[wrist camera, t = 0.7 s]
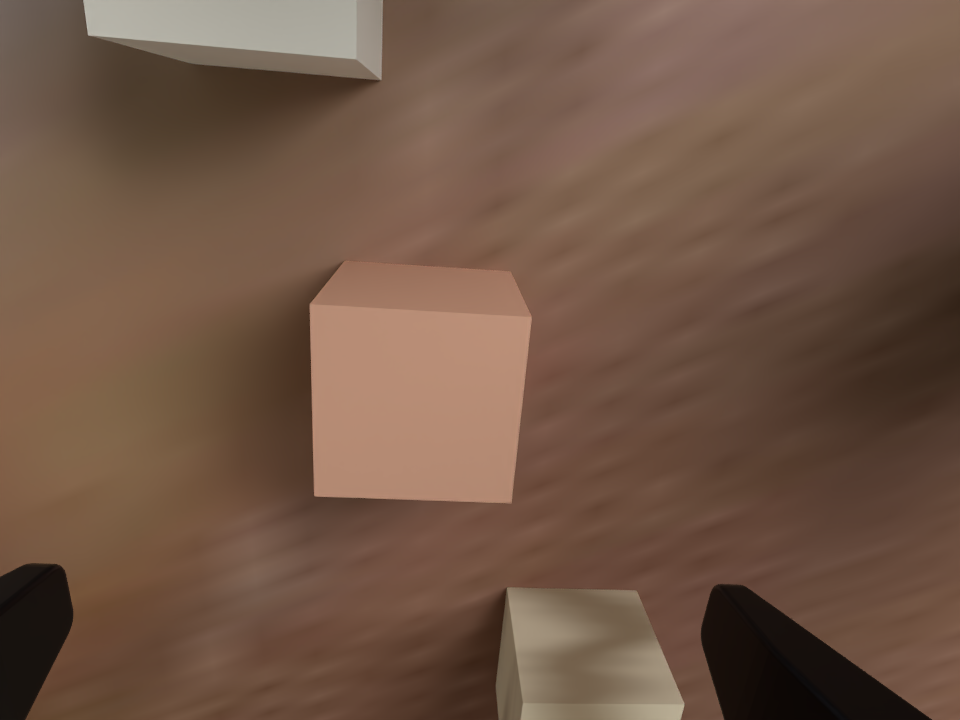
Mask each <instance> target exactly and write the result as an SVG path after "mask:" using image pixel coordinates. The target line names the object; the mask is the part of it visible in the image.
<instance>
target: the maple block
mask: <svg viewBox="0 0 960 720" xmlns="http://www.w3.org/2000/svg"><path fill="white" fill-rule="evenodd" d="M496 696H497V707H498V718H499V720H681V716H682V712H683V709H684V705H685V704H684V702H683V700H682V697H681V695H680V692H679V690H678V688H677V685H676V683H675V681H674V678H673V676H672V673H671V671H670V669H669V666H668V664H667V662H666V659H665V657H664V654H663V652H662V650H661V647H660V645H659V643H658V640H657V638H656V635H655V633H654V631H653V628H652V626H651V624H650V621H649V619H648V616H647V614H646V612H645V609H644V607H643V605H642V602H641V600H640V597H639V595H638V593H637V590H596V589H555V588H514V587H507V591H506V600H505V609H504V617H503V626H502V635H501V644H500V652H499V661H498V670H497V678H496Z"/></svg>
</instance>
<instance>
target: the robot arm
mask: <svg viewBox="0 0 960 720" xmlns="http://www.w3.org/2000/svg"><path fill="white" fill-rule="evenodd" d="M72 622H73V607H72V602H71V597H70V592H69V587H68V582H67V577H66V573H65V570H64V569H63V568H62V567H61V566H60V565H57V564H39V563H31V564H25V565H23V566H21V567H19V568H17V569H15V570H13V571H11V572H9V573H7V574H5V575H3V576H1V577H0V720H25V719H26V717H27V715H28V713H29V711H30V709H31V707H32V705H33V703H34V701H35V699H36V697H37V695H38V693H39V691H40V689H41V687H42V685H43V683H44V681H45V679H46V677H47V675H48V673H49V671H50V669H51V667H52V665H53V663H54V661H55V659H56V657H57V655H58V653H59V652H60V650H61V648H62V646H63V644H64V642H65V640H66V638H67V636H68V634H69V631H70V629H71V626H72ZM701 641H702V646H703V650H704V653H705V657H706V660H707V663H708V667H709V670H710V673H711V677H712V680H713V684H714V687H715V690H716V694H717V697H718V700H719V704H720V707H721V710H722V714H723V717H724V720H932V719H930V718H929V717H928V716H926V715H925V714H923V713H922V712H921V711H919V710H918V709H916V708H915V707H914V706H912V705H911V704H909V703H908V702H907V701H905V700H904V699H902V698H901V697H900V696H898V695H897V694H895V693H894V692H893V691H891V690H890V689H888V688H887V687H886V686H884V685H883V684H881V683H880V682H879V681H877V680H876V679H874V678H873V677H872V676H870V675H869V674H867V673H866V672H865V671H863V670H862V669H860V668H859V667H858V666H856V665H855V664H853V663H852V662H851V661H849V660H848V659H846V658H845V657H844V656H842V655H841V654H839V653H838V652H837V651H835V650H834V649H832V648H831V647H830V646H828V645H827V644H825V643H824V642H823V641H821V640H820V639H818V638H817V637H816V636H814V635H813V634H811V633H810V632H809V631H807V630H806V629H804V628H803V627H802V626H800V625H799V624H797V623H796V622H795V621H793V620H792V619H790V618H789V617H788V616H786V615H785V614H783V613H782V612H781V611H779V610H778V609H776V608H775V607H774V606H772V605H771V604H769V603H768V602H767V601H765V600H764V599H762V598H761V597H760V596H758V595H757V594H755V593H754V592H753V591H751V590H750V589H748V588H747V587H745V586H743V585H730V584H718V585H716V586H714V587H713V589H712V591H711V593H710V597H709V600H708V604H707V608H706V612H705V615H704V619H703V623H702V627H701Z"/></svg>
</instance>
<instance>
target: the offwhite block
mask: <svg viewBox="0 0 960 720" xmlns="http://www.w3.org/2000/svg"><path fill="white" fill-rule="evenodd" d="M83 1H84V9H85V16H86V24H87V31H88V35H89V36H93V37H96V38H100V39H103V40H107V41H111V42H114V43H118V44H122V45H125V46H129V47H132V48H136V49H140V50H143V51H147V52H150V53H154V54H158V55H161V56H165V57H169V58H172V59H176V60H179V61H183V62H187V63H190V64H200V65H211V66H222V67H234V68H245V69H257V70H268V71H280V72H291V73H303V74H314V75H325V76H337V77H348V78H360V79H371V80H382V21H383V0H83Z"/></svg>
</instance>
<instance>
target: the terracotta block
mask: <svg viewBox="0 0 960 720" xmlns="http://www.w3.org/2000/svg"><path fill="white" fill-rule="evenodd" d="M531 320H532V316H531V314H530V312H529V310H528V308H527V306H526V304H525V302H524V299H523V297H522V295H521V293H520V291H519V289H518V287H517V284H516V282H515V280H514V278H513V276H512V274H511V272H510V271H497V270H481V269H466V268H450V267H435V266H419V265H404V264H388V263H373V262H357V261H344V262H343V263H342V265H341V266H340V267H339V268H338V270H337V271H336V272H335V273H334V275H333V276H332V277H331V278H330V280H329V281H328V282H327V283H326V284H325V286H324V287H323V288H322V289H321V291H320V292H319V293H318V294H317V296H316V297H315V298H314V299H313V301H312V302H311V303H310V340H311V382H312V425H313V467H314V496H318V497H347V498H376V499H404V500H433V501H462V502H490V503H511V501H512V492H513V483H514V474H515V465H516V456H517V447H518V438H519V429H520V420H521V411H522V402H523V393H524V384H525V375H526V366H527V357H528V348H529V338H530V329H531Z"/></svg>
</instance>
